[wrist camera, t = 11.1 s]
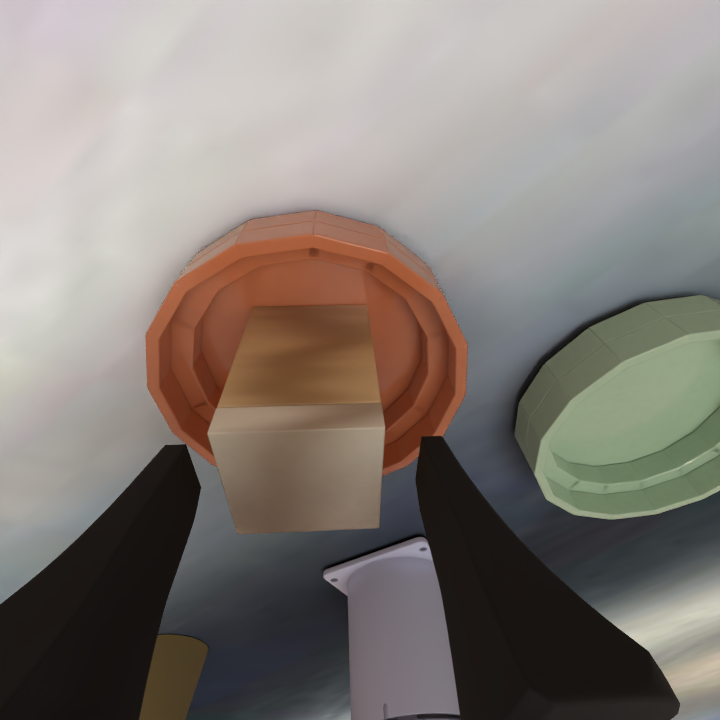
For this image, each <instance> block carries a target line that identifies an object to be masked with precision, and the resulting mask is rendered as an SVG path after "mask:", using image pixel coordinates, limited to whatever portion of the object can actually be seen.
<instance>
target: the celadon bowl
mask: <svg viewBox="0 0 720 720" xmlns="http://www.w3.org/2000/svg"><path fill="white" fill-rule="evenodd" d="M514 435H515V438H516V440H517V442H518V444H519V446H520V448H521V450H522V452H523V454H524V456H525V459H526V461H527V463H528V465H529V467H530V469H531V470H532V472H533V474H534V476H535V478H536V480H537V482H538V484H539V486H540V488H541V490H542V492H543V494H544V496H545V498H546V499H547V500H548V501H550V502H552V503H553V504H555V505H557V506H559V507H561V508H562V509H564V510H566V511H568V512H569V513H571V514H573V515H579V516H586V517H594V518H602V519H610V520H611V519H612V520H613V519H621V518H629V517H638V516H646V515H654V514H658V513H661V512H664V511H668V510H671V509H674V508H677V507H680V506H683V505H686V504H690V503H693V502H696V501H699V500H702V499H704V498H706V497H708V496H710V495H712V494H714V493H716V492H718V491H720V300H719V299H715V298H712V297H708V296H704V295H703V296H702V295H696V296H689V297H681V298H674V299H666V300H659V301H651V302H645V303H642V304H640V305H638V306H636V307H633V308H631V309H629V310H627V311H624V312H622V313H620V314H618V315H615V316H613V317H611V318H609V319H606V320H604V321H602V322H600V323H597V324H595V325H593V326H591V327H589V329H586V330H585V331H584V332H582V333H581V334H580V335H579V336H578V337H576V338H575V339H574V340H573V341H571V342H570V343H569V344H568V345H566V346H565V347H564V348H563V349H561V350H560V351H559V352H558V353H557V354H555V355H554V356H553V357H552V358H550V359H549V360H548V361H547V362H546V363H545V364H544V365H543V366H542V368H541V369H540V371H539V372H538V374H537V375H536V377H535V378H534V380H533V381H532V383H531V384H530V386H529V387H528V389H527V390H526V392H525V393H524V395H523V397H522V398H521V400H520V402H519V405H518V412H517V419H516V426H515V433H514Z"/></svg>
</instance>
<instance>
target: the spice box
mask: <svg viewBox="0 0 720 720" xmlns="http://www.w3.org/2000/svg"><path fill="white" fill-rule="evenodd" d="M207 434H208V438H209V441H210V444H211V448H212V451H213V454H214V458H215V461H216V464H217V468H218V471H219V474H220V478H221V481H222V484H223V488H224V491H225V494H226V498H227V501H228V504H229V508H230V511H231V514H232V518H233V521H234V524H235V528H236V531H237V534H256V533H278V532H300V531H323V530H345V529H367V528H379V522H380V506H381V490H382V473H383V457H384V441H385V422H384V415H383V409H382V404H381V396H380V389H379V382H378V376H377V369H376V362H375V355H374V348H373V341H372V335H371V328H370V321H369V314H368V307H367V305H321V306H265V307H252V310H251V313H250V316H249V319H248V322H247V324H246V327H245V330H244V333H243V336H242V338H241V341H240V344H239V347H238V350H237V352H236V355H235V358H234V361H233V364H232V367H231V369H230V372H229V375H228V378H227V381H226V383H225V386H224V389H223V392H222V395H221V398H220V400H219V403H218V406H217V408H216V410H215V413H214V416H213V419H212V422H211V424H210V427H209V430H208V433H207Z"/></svg>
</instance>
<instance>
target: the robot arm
mask: <svg viewBox="0 0 720 720" xmlns="http://www.w3.org/2000/svg"><path fill="white" fill-rule="evenodd" d="M416 486H417V493H418V500H419V507H420V512H421V516H422V520H423V524H424V528H425V532H426V536H427V540H428V541H427V540H426V539H425V538H424V537H416V538H413V539H410V540H408V541H405V542H402V543H399V544H396V545H393V546H391V547H388V548H385V549H382V550H379V551H377V552H374V553H371V554H368V555H365V556H362V557H360V558H357V559H354V560H351V561H348V562H345V563H343V564H340V565H337V566H334V567H331V568H329V569H326V570H325V571H324V574H323V578H324V579H325V580H327V581H328V582H329V583H331V584H332V585H333V586H335V587H336V588H337V589H339V590H340V591H341V592H343V593H344V594H345V595H347V596H348V623H349V659H350V696H351V720H670V719H672V718H673V717H674V716H675V715H677V714H678V711H679V707H680V703H679V701H678V699H677V697H676V696H675V694H674V692H673V690H672V688H671V686H670V685H669V683H668V681H667V679H666V678H665V676H664V674H663V673H662V671H661V669H660V668H659V667H658V665H657V664H656V662H655V661H654V659H653V658H652V656H651V654H650V653H649V651H647V650H646V649H645V648H643V647H642V646H641V645H639V644H638V643H637V642H635V641H634V640H633V639H632V638H630V637H629V636H628V635H626V634H625V633H624V632H622V631H621V630H620V629H618V628H617V627H616V626H615V625H613V624H612V623H611V622H609V621H608V620H607V619H606V618H604V617H603V616H602V615H601V614H600V613H598V612H597V611H596V610H595V609H594V608H592V607H591V606H590V605H589V604H588V603H586V602H585V601H584V600H583V599H582V598H581V597H579V596H578V595H577V594H576V593H575V592H574V591H573V590H572V589H571V588H569V587H568V586H567V585H566V584H565V583H564V582H563V581H562V580H561V579H560V578H558V577H557V576H556V575H555V574H554V573H553V572H552V571H551V570H550V569H549V568H548V567H546V566H545V565H544V564H543V563H542V562H541V561H540V560H539V559H538V558H537V557H536V556H535V555H534V554H533V553H532V552H531V551H530V550H529V549H528V548H527V546H526V545H525V544H524V543H523V542H522V541H521V540H520V539H519V538H518V537H517V536H516V535H515V534H514V533H513V531H512V530H511V529H510V528H509V527H508V526H507V525H506V523H505V522H504V521H503V520H502V519H501V518H500V516H499V515H498V514H497V513H496V512H495V510H494V509H493V508H492V507H491V506H490V504H489V503H488V502H487V500H486V499H485V498H484V497H483V495H482V494H481V493H480V491H479V490H478V489H477V487H476V486H475V485H474V483H473V482H472V481H471V479H470V478H469V476H468V475H467V474H466V472H465V471H464V469H463V468H462V466H461V465H460V463H459V462H458V461H457V459H456V457H455V456H454V454H453V453H452V451H451V450H450V448H449V446H448V445H447V443H446V442H445V440H444V438H443V437H441V436H421V443H420V450H419V457H418V465H417V472H416ZM200 490H201V486H200V483H199V480H198V477H197V475H196V472H195V469H194V466H193V463H192V460H191V457H190V454H189V452H188V449H187V446H186V444H184V445H165V446H164V447H163V448H162V449H161V450H160V452H159V453H158V454H157V455H156V456H155V457H154V458H153V459H152V460H151V462H150V463H149V464H148V465H147V466H146V467H145V468H144V470H143V471H142V472H141V473H140V474H139V475H138V476H137V477H136V478H135V480H134V481H133V482H132V483H131V484H130V485H129V486H128V487H127V488H126V489H125V491H124V492H123V493H122V494H121V495H120V496H119V497H118V498H117V499H116V500H115V501H114V502H113V503H112V505H111V506H110V507H109V508H108V509H107V510H106V511H105V512H104V513H103V514H102V515H101V516H100V517H99V518H98V519H97V520H96V521H95V522H94V523H93V524H92V525H91V526H90V527H89V528H88V529H87V530H86V531H85V532H84V533H83V534H82V535H81V536H80V537H79V538H78V539H77V540H76V541H75V542H74V543H72V544H71V545H70V546H69V547H68V548H67V549H66V550H65V551H64V552H63V553H62V554H61V555H59V556H58V557H57V558H56V559H55V560H54V561H53V562H52V563H50V564H49V565H48V566H47V567H46V568H45V569H44V570H42V571H41V572H40V573H39V574H38V575H36V576H35V577H34V578H33V579H32V580H30V581H29V582H28V583H27V584H25V585H24V586H23V587H22V588H20V589H19V590H18V591H17V592H15V593H14V594H13V595H12V596H10V597H9V598H8V599H7V600H5V601H4V602H3V603H2V604H0V720H139V717H140V713H141V708H142V703H143V698H144V693H145V688H146V683H147V679H148V674H149V670H150V665H151V661H152V656H153V652H154V648H155V644H156V639H157V635H158V631H159V627H160V623H161V619H162V615H163V611H164V608H165V605H166V601H167V598H168V595H169V592H170V589H171V586H172V583H173V581H174V578H175V575H176V572H177V569H178V566H179V563H180V560H181V557H182V555H183V552H184V549H185V546H186V543H187V540H188V537H189V534H190V531H191V528H192V525H193V522H194V518H195V514H196V510H197V505H198V500H199V495H200Z"/></svg>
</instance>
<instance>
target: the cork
mask: <svg viewBox="0 0 720 720" xmlns="http://www.w3.org/2000/svg"><path fill="white" fill-rule="evenodd" d="M207 652H208V647H207V646H206V644H204V643H203V642H201V641H200V640H197V639H195V638H192V637H187V636H182V635H170V634H167V635H157V639H156V644H155V648H154V652H153V656H152V661H151V665H150V670H149V674H148V679H147V683H146V688H145V693H144V698H143V703H142V708H141V713H140V717H139V720H185V719H186V716H187V713H188V710H189V707H190V704H191V701H192V698H193V695H194V692H195V689H196V686H197V683H198V680H199V677H200V674H201V671H202V668H203V665H204V662H205V659H206V656H207Z"/></svg>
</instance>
